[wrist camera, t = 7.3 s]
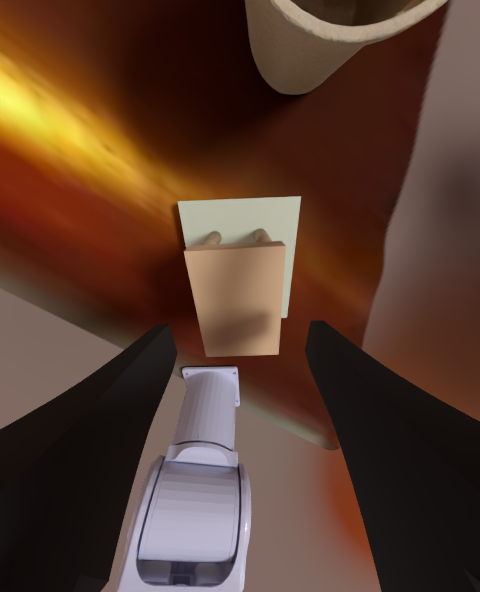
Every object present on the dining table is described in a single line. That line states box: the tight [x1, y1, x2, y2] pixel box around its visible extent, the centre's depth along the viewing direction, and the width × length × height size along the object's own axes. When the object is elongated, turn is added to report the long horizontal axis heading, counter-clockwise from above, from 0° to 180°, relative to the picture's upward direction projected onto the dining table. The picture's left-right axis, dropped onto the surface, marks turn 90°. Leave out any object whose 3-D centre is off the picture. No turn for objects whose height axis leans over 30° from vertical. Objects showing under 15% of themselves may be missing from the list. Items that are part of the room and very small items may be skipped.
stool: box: [184, 228, 286, 357], centre depth 14 cm, size 5×8×7 cm
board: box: [178, 196, 301, 318], centre depth 18 cm, size 12×10×1 cm
